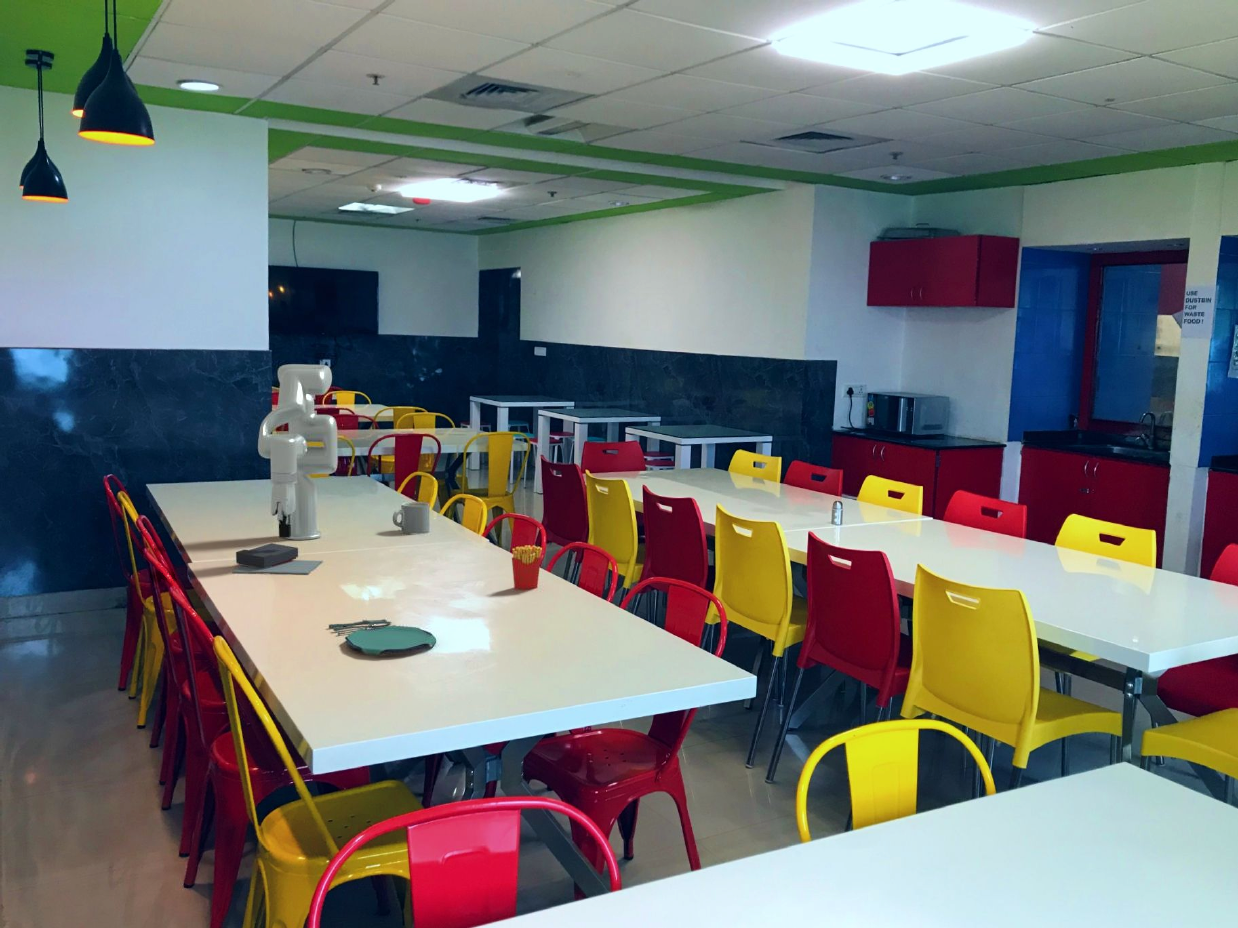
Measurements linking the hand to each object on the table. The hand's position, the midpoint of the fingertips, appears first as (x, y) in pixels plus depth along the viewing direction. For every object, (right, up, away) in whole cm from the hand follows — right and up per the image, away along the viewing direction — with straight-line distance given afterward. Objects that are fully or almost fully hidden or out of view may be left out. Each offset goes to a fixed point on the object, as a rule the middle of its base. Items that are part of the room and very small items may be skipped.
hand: (284, 536), depth 311 cm
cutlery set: (+47, -19, -73) cm, 89 cm away
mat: (0, -9, -5) cm, 10 cm away
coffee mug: (+27, -2, +54) cm, 61 cm away
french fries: (+76, -13, -22) cm, 80 cm away
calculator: (-1, -5, +5) cm, 7 cm away
